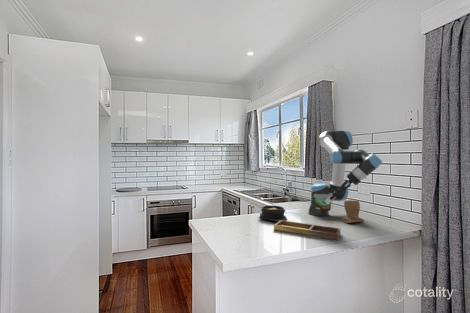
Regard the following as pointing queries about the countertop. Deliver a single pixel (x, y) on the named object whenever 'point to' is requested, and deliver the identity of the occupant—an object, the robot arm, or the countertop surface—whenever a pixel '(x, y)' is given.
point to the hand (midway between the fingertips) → (327, 201)
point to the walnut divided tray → (308, 230)
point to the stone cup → (352, 211)
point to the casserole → (273, 213)
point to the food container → (322, 202)
